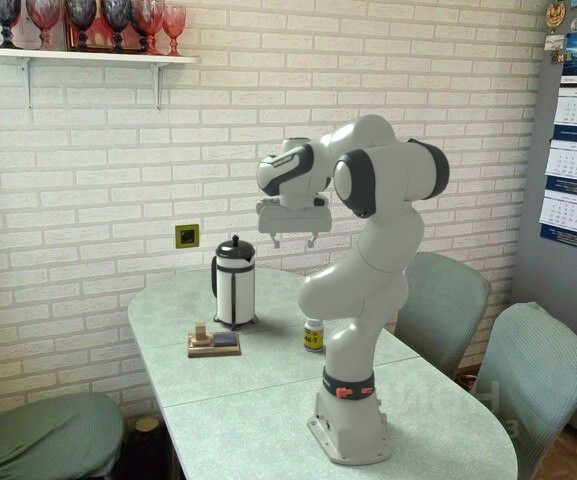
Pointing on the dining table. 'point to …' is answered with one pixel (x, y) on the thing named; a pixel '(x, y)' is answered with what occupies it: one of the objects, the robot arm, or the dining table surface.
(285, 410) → the dining table surface
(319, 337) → the supplement bottle
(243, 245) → the coffee press
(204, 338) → the stamp
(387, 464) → the dining table surface
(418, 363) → the dining table surface
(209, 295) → the dining table surface
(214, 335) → the station board
